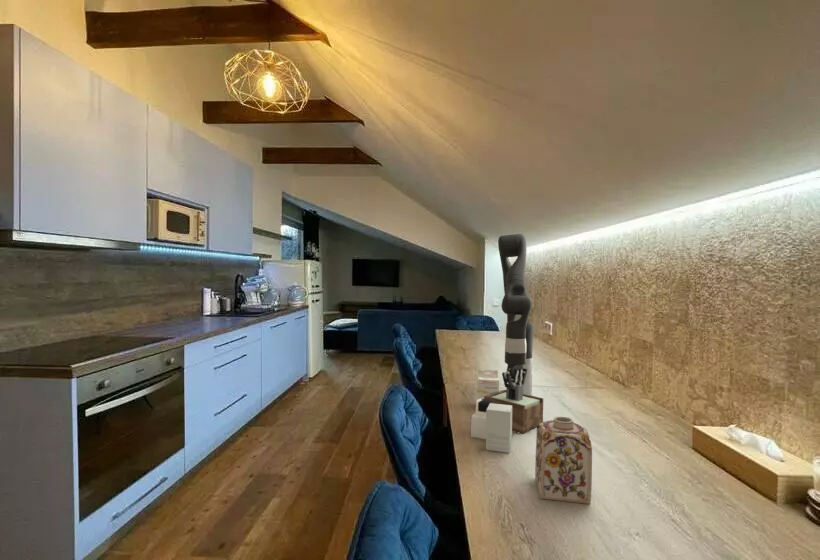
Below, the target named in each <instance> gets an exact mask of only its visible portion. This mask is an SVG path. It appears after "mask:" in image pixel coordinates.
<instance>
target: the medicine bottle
mask: <svg viewBox="0 0 820 560" xmlns="http://www.w3.org/2000/svg"><path fill="white" fill-rule="evenodd" d="M490 403H493V404H494V401H492V400H491V399H487V398H481V399H478V400H477V399H476V400H475V412H474V413H473V414H472V415H471V418H470V419H471V422H470V423H471V424H470V425H471V426H470V432H471V433H470V436H471V438H474V439H475V438H476V439H480V440H485V439H486V409H487V408H488V406H489V404H490Z"/></svg>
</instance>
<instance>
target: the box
mask: <svg viewBox="0 0 820 560" xmlns="http://www.w3.org/2000/svg"><path fill="white" fill-rule="evenodd" d="M505 392H506V389H502V390H499V392H496V393H493V394H489V395H486V396H484V398H487V399H491V400H492V401H494V404H503V405H512V432H515V433H518V432H519V434H521V435H523V434H526V433H528V432H530V431H532V430H535V429H537V427H538V426H539V424H540V423H542V422H544V397H539V396H535V395H527V394H523V396H525V397H529V398H533V399H538V400H540V403H538V404H535V405H533V406H530V407H528V408H525V405H521V404H517V403H513V402H509V401H505V400H501V399H497V398H493V397H492V396H496V395H499V394H502V393H505Z"/></svg>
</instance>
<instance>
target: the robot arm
mask: <svg viewBox="0 0 820 560" xmlns="http://www.w3.org/2000/svg"><path fill="white" fill-rule="evenodd" d="M497 242H498V243H497V246H498V252H499V258H500V263H501V269H502V270H501V271H502V279H503V280H502V281H503V292H504V296H503V297H502V301H501V310H502V312H503V313H504V314H506V316H507V317H506V318H507V322H506V324H505V325H506V326H505V343H504V363H505V364H507V365H506V366H507V367H506V371H504V372H502V373H501V374H502V380H503V384H504V388H506V387H507V388H509V399H515V384H518V385H522V386H523V394H527V395H531V396H533V393H532V392H533V346H534V345H533V343H534V342H533V341H534V330H535V329H534V323H533V322H532V321H528V320H529V316H530V312H531V311H532V306H533V303H532V302H533V301H532V300H531V297H529V296H528V295H527V294H528V293H527V285H526V283H527V282H526V279H525V277H526V276H525V273H526V262H527V251H528V249H527V240H526V236H525V235H524V234H523V233H515V234H514V233H513V234H504V235H500V236H499V237H498V241H497ZM509 258H516V259H515V261H514V262H513V264H512V263H511V261H510V259H509ZM519 315H520V317H519V318H518V319H516V318H517V316H519ZM512 383H513V385H512Z"/></svg>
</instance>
